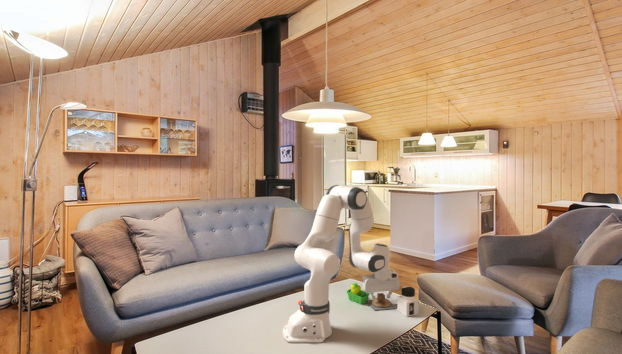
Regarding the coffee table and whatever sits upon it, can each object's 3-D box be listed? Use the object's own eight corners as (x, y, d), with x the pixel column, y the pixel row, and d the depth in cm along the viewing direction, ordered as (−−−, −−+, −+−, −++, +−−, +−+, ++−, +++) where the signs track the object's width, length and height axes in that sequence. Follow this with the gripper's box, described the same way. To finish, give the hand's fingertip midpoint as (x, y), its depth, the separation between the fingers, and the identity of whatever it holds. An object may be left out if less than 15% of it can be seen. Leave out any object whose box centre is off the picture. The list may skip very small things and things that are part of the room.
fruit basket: (370, 302, 181) (370, 282, 180) (360, 307, 175) (360, 286, 174) (354, 296, 189) (354, 276, 189) (344, 300, 183) (344, 280, 183)
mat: (374, 310, 170) (374, 309, 170) (366, 301, 182) (366, 300, 182) (396, 308, 173) (396, 307, 173) (386, 299, 184) (386, 298, 184)
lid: (375, 308, 171) (376, 299, 171) (368, 300, 181) (368, 291, 181) (393, 307, 173) (393, 297, 173) (385, 299, 183) (385, 290, 183)
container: (419, 314, 166) (419, 289, 166) (406, 317, 163) (406, 291, 163) (409, 308, 173) (409, 284, 173) (397, 310, 171) (397, 286, 170)
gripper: (365, 277, 171) (364, 302, 172) (401, 274, 175) (401, 299, 176) (360, 272, 178) (360, 297, 178) (396, 270, 181) (395, 294, 182)
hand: (381, 298), depth 177 cm, fingers open, 7 cm apart
